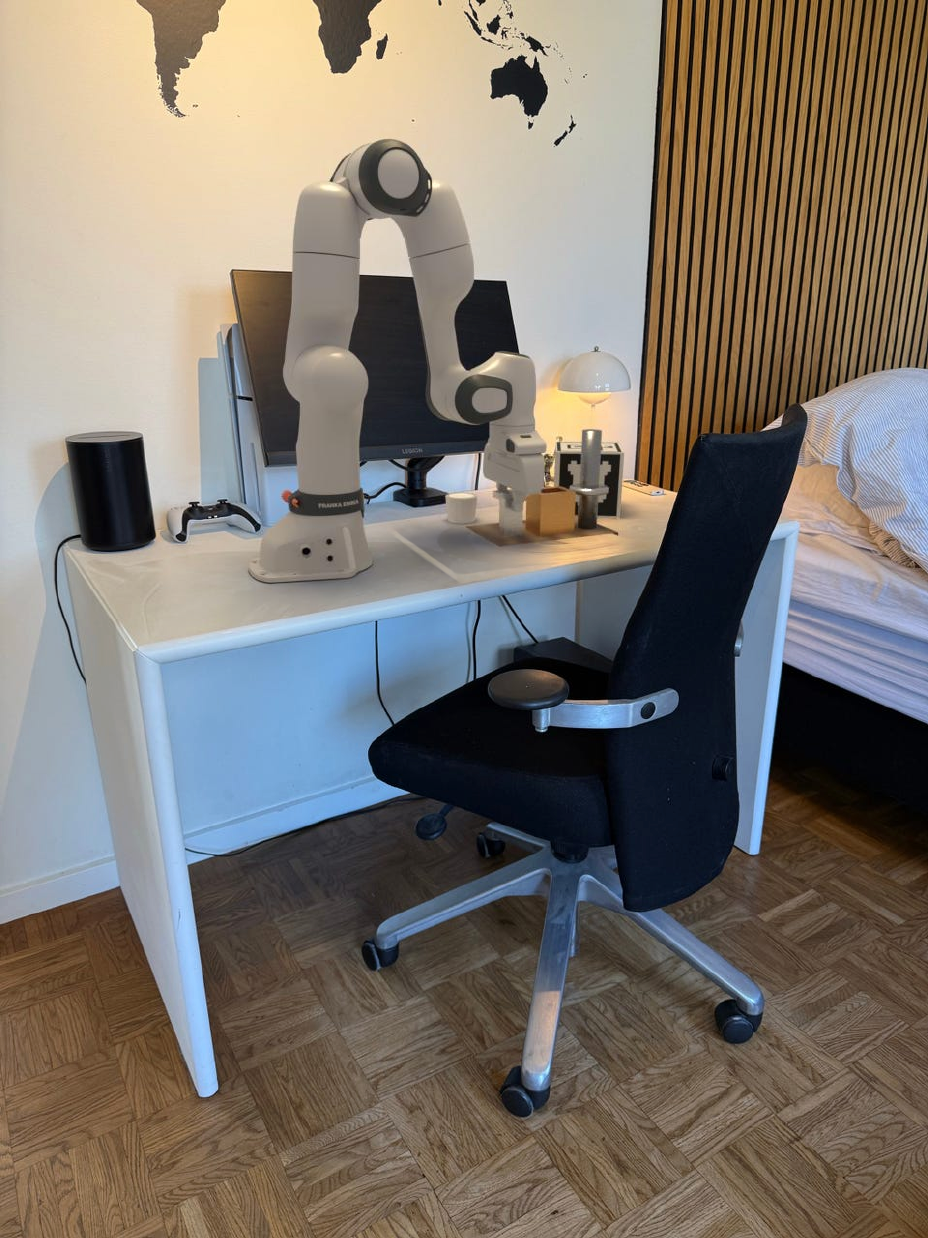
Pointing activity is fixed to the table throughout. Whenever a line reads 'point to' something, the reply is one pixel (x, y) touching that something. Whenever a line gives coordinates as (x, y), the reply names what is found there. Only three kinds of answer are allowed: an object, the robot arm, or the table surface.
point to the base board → (527, 537)
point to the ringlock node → (570, 495)
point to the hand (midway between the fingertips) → (510, 508)
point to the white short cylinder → (461, 507)
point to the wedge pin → (508, 514)
